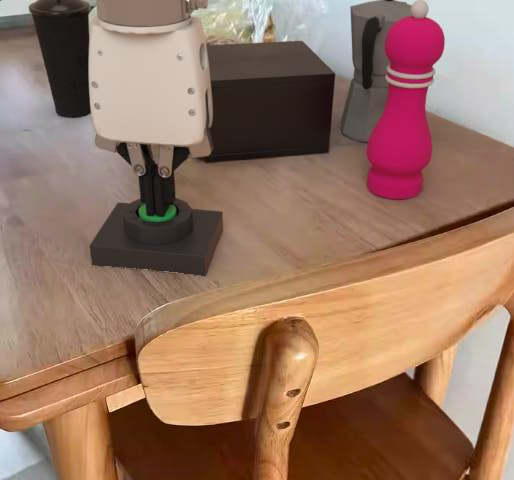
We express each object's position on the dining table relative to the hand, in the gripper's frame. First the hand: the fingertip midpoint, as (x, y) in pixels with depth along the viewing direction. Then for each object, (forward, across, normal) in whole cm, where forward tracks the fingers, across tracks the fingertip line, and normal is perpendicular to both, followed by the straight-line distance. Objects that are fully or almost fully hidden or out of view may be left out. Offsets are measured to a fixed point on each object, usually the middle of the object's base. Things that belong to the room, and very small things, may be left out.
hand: (159, 209), depth 70 cm
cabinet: (+4, -5, -30) cm, 31 cm away
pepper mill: (+4, -23, -18) cm, 29 cm away
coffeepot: (+4, -20, -34) cm, 40 cm away
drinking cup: (+4, +21, -34) cm, 40 cm away
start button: (+2, 0, 0) cm, 2 cm away
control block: (+4, 0, 0) cm, 4 cm away
